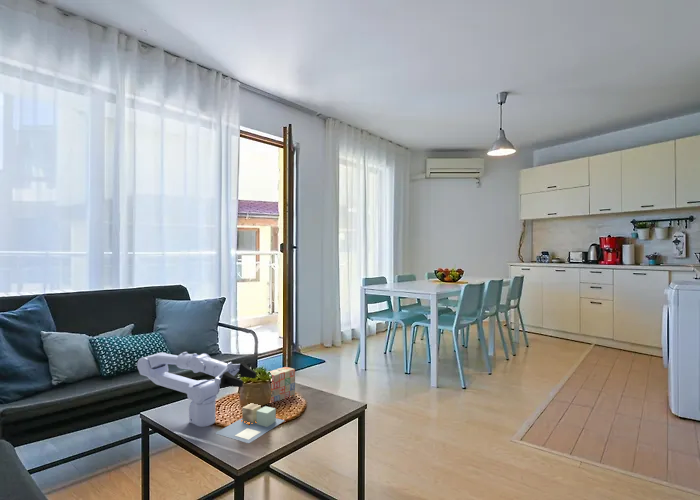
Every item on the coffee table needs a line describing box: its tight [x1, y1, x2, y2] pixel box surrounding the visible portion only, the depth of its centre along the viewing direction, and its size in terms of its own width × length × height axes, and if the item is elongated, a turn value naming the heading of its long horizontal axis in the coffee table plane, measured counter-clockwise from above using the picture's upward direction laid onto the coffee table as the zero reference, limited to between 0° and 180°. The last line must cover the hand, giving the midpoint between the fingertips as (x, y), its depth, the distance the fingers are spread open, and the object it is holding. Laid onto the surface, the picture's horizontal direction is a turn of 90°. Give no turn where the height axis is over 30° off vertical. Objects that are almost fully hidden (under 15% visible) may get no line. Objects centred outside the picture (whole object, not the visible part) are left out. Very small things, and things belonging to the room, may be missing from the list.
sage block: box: [257, 405, 277, 427], centre depth 150 cm, size 5×5×5 cm
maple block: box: [241, 403, 262, 423], centre depth 153 cm, size 5×5×5 cm
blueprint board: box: [214, 417, 286, 444], centre depth 147 cm, size 16×20×1 cm
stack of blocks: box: [268, 366, 296, 404], centre depth 174 cm, size 21×6×12 cm, turn 141°
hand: (248, 379), depth 143 cm, fingers open, 7 cm apart
